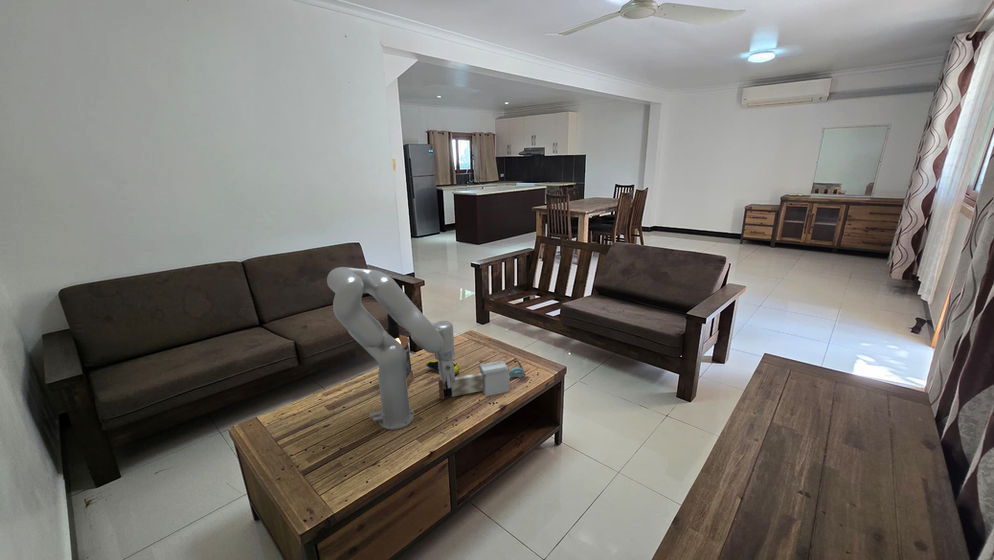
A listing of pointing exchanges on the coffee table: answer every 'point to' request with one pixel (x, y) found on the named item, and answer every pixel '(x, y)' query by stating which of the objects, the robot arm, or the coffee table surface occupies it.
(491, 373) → the block
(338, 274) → the robot arm
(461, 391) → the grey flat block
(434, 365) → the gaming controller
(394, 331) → the whiskey bottle
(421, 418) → the coffee table surface
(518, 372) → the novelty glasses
